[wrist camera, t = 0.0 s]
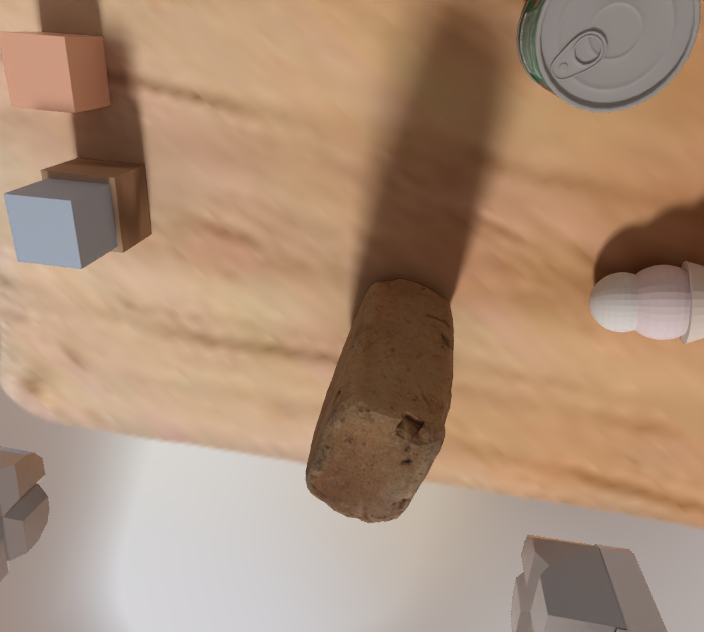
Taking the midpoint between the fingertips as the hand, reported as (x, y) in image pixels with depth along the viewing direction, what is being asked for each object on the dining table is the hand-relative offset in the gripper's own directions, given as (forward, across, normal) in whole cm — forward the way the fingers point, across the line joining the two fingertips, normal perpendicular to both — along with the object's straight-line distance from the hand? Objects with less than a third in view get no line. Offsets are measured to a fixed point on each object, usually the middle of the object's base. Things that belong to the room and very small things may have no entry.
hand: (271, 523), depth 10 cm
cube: (+38, +27, -7) cm, 47 cm away
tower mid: (+34, +25, +4) cm, 43 cm away
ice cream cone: (+40, -22, +5) cm, 46 cm away
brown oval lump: (+40, 0, +12) cm, 42 cm away
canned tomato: (+38, -10, -12) cm, 41 cm away
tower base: (+39, +25, +3) cm, 47 cm away
